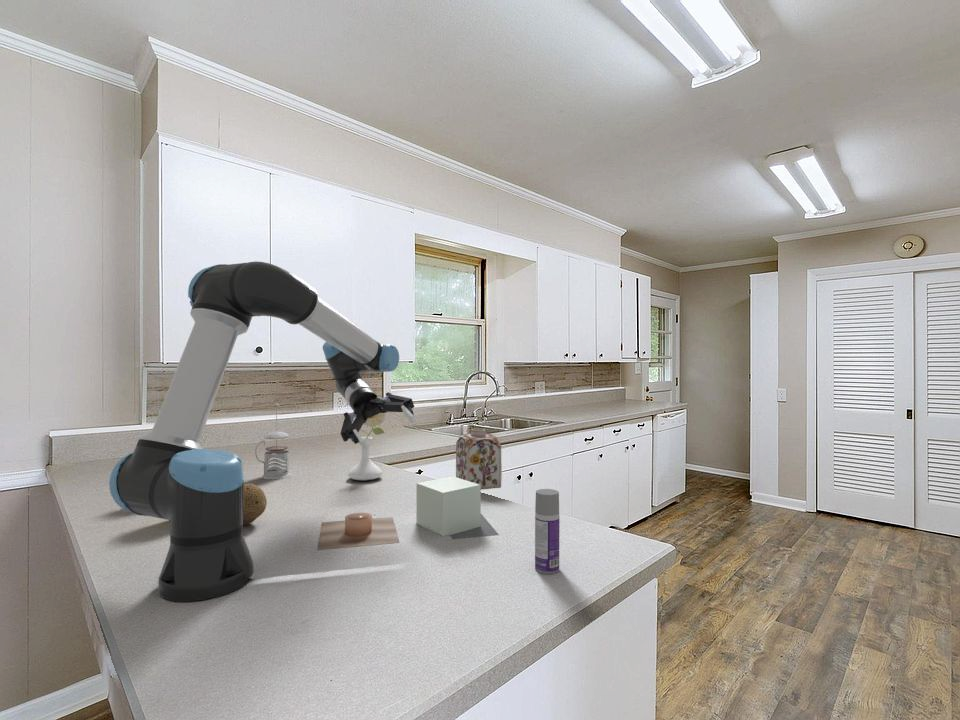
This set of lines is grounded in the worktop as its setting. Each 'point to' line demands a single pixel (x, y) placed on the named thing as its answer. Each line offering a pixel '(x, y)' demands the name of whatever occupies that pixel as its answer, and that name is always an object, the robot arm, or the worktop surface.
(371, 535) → the board
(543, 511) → the container
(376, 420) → the flower in vase
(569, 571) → the worktop surface
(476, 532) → the mat
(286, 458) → the french press
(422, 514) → the pale mint green cube
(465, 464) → the decorative jar
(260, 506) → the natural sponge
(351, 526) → the bowl
